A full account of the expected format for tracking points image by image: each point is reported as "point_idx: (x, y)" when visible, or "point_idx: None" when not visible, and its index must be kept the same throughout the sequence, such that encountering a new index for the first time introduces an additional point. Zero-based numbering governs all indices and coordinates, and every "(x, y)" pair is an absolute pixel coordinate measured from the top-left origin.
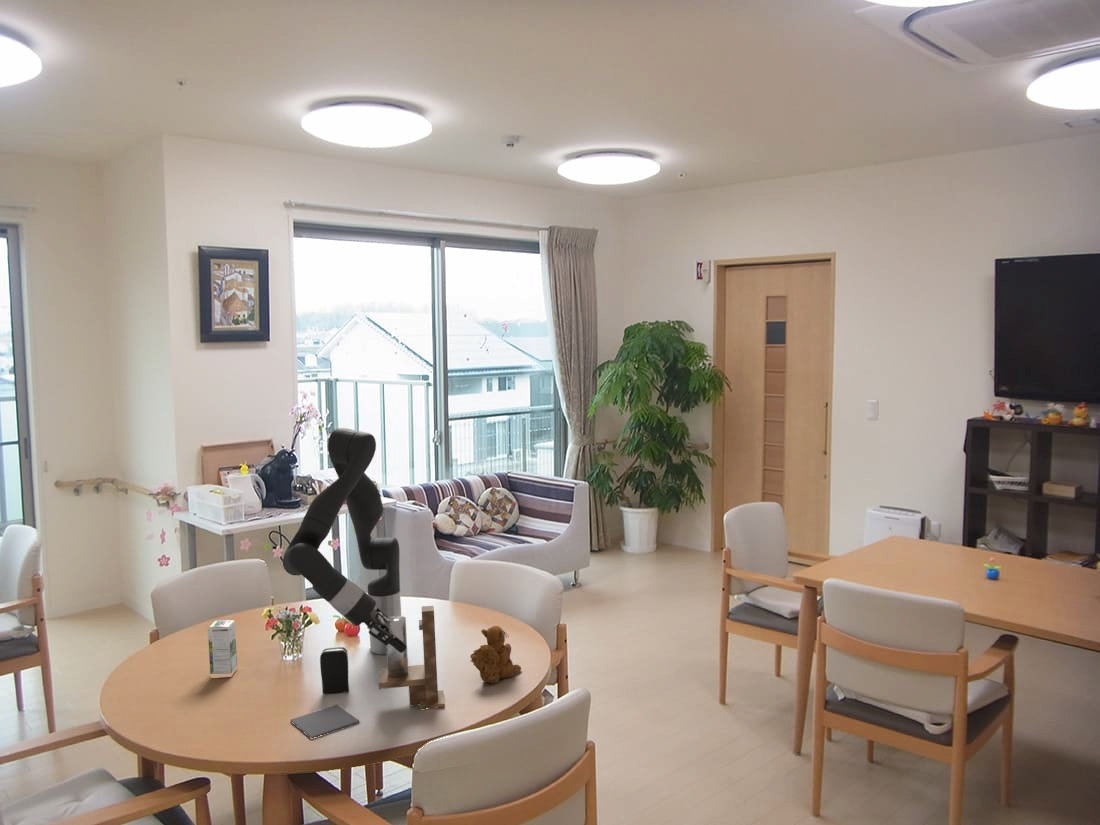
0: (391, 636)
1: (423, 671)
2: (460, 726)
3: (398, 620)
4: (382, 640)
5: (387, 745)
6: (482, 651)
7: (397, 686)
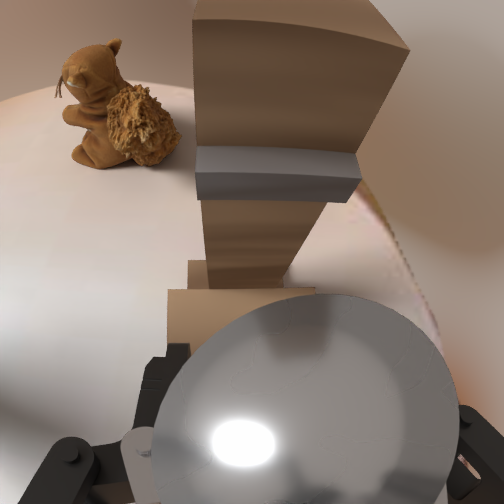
0: (476, 419)
1: (241, 293)
2: (378, 232)
3: (395, 397)
4: (471, 474)
5: None
6: (147, 105)
7: None
